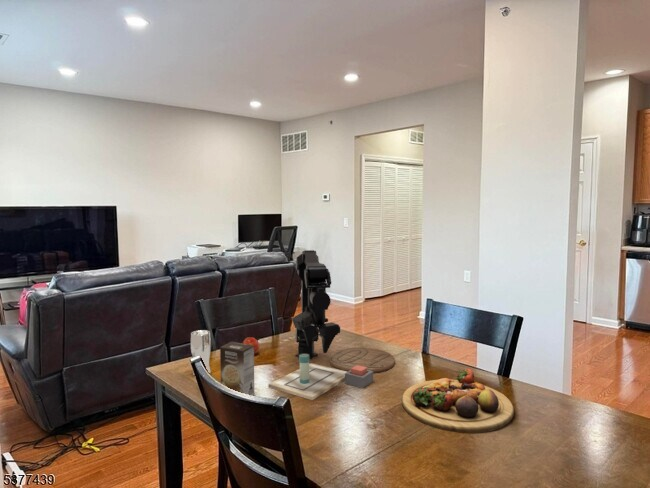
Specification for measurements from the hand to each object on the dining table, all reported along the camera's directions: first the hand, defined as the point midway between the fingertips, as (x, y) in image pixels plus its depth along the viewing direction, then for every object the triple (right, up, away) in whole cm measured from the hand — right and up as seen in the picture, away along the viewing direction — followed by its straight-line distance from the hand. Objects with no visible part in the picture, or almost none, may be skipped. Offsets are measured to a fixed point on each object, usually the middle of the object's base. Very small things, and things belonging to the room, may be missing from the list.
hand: (317, 349), depth 150 cm
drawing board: (-2, -12, +4) cm, 13 cm away
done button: (+14, -10, +3) cm, 17 cm away
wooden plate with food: (+42, -14, -15) cm, 47 cm away
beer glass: (-42, -12, +11) cm, 45 cm away
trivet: (+17, -11, +23) cm, 30 cm away
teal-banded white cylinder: (-4, -11, +1) cm, 12 cm away
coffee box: (-25, -13, -7) cm, 29 cm away
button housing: (+14, -12, +3) cm, 19 cm away
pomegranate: (-27, -10, +32) cm, 43 cm away
